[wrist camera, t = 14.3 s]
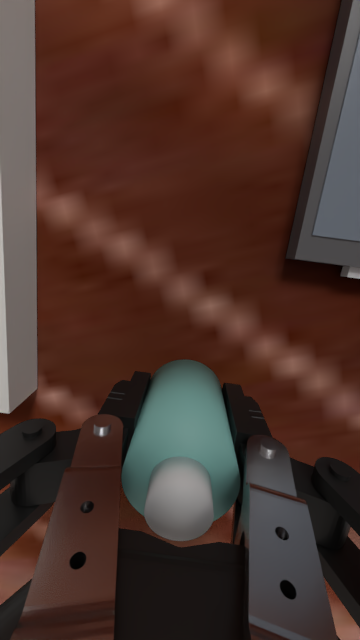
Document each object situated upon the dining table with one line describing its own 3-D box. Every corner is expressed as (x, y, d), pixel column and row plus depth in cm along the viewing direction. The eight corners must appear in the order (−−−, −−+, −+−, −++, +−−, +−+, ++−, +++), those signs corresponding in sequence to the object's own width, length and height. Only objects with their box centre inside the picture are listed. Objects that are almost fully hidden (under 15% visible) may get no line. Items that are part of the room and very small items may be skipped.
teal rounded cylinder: (151, 354, 12) (115, 448, 6) (227, 364, 12) (259, 468, 6) (145, 420, 13) (108, 555, 7) (215, 430, 13) (234, 572, 7)
